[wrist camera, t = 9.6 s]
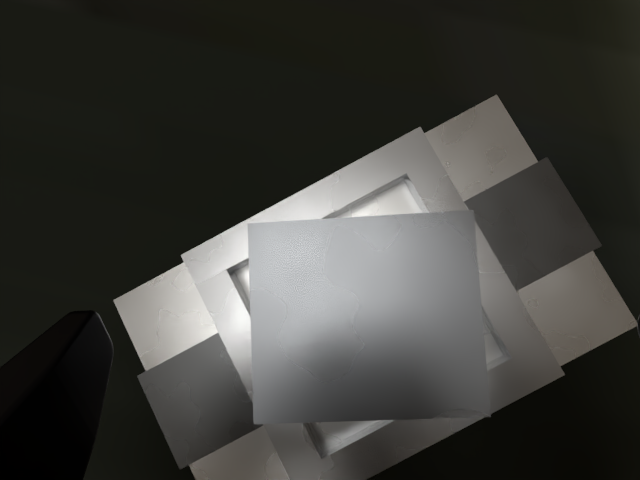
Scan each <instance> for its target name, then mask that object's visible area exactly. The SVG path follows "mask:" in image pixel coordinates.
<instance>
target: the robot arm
mask: <svg viewBox="0 0 640 480" xmlns="http://www.w3.org/2000/svg"><path fill="white" fill-rule="evenodd" d="M637 328H638V333H639V337H640V314H639V317H638V322H637ZM112 359H113V344H112V341H111V339H110V337H109V335H108V333H107V331H106V328H105V326H104V324H103V322H102V320H101V318H100V316H99V314H98V313H96V312H95V311H92V310H89V311H73V312H70V313H68V314H67V315H65V316H64V317H63V318H62V319H60V320H59V321H58V322H57V323H55V324H54V325H53V326H52V327H50V328H49V329H48V330H47V331H45V332H44V333H43V334H42V335H40V336H39V337H38V338H37V339H35V340H34V341H33V342H32V343H30V344H29V345H28V346H27V347H25V348H24V349H23V350H22V351H20V352H19V353H18V354H17V355H15V356H14V357H13V358H12V359H10V360H9V361H8V362H7V363H5V364H4V365H3V366H2V367H0V480H83V478H84V475H85V471H86V468H87V465H88V462H89V459H90V456H91V453H92V450H93V446H94V443H95V440H96V435H97V431H98V427H99V423H100V418H101V413H102V408H103V403H104V398H105V393H106V389H107V384H108V379H109V374H110V369H111V364H112Z"/></svg>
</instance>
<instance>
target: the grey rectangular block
mask: <svg viewBox="0 0 640 480" xmlns="http://www.w3.org/2000/svg"><path fill="white" fill-rule="evenodd" d="M248 253H249V287H250V320H251V354H252V387H253V420H254V424H280V423H312V422H344V421H376V420H408V419H440V418H472V417H491V412H490V400H489V388H488V376H487V364H486V352H485V341H484V329H483V317H482V305H481V293H480V281H479V269H478V257H477V245H476V233H475V221H474V210H462V211H445V212H429V213H412V214H395V215H378V216H362V217H345V218H328V219H311V220H295V221H278V222H261V223H248Z"/></svg>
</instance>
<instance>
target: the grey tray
mask: <svg viewBox="0 0 640 480" xmlns="http://www.w3.org/2000/svg"><path fill="white" fill-rule="evenodd" d="M462 210H474V221H475V233H476V245H477V257H478V269H479V281H480V293H481V305H482V317H483V329H484V341H485V352H486V364H487V376H488V388H489V400H490V412H491V414H492V413H493V412H495V411H497V410H499V409H501V408H503V407H505V406H507V405H509V404H511V403H512V402H514V401H516V400H518V399H520V398H522V397H524V396H526V395H528V394H530V393H531V392H533V391H535V390H537V389H539V388H541V387H543V386H545V385H547V384H549V383H550V382H552V381H554V380H556V379H558V378H560V377H562V376H564V375H565V374H564V372H563V370H562V369H561V367H560V366H562V365H564V364H566V363H567V362H569V361H571V360H573V359H575V358H577V357H579V356H581V355H583V354H584V353H586V352H588V351H590V350H592V349H594V348H596V347H598V346H600V345H602V344H603V343H605V342H607V341H609V340H611V339H613V338H615V337H617V336H619V335H621V334H622V333H624V332H626V331H628V330H630V329H632V328H634V327H636V326H637V322H636V320H635V319H634V317H633V315H632V314H631V312H630V311H629V309H628V307H627V306H626V304H625V302H624V301H623V299H622V298H621V296H620V294H619V293H618V291H617V289H616V288H615V286H614V285H613V283H612V281H611V280H610V278H609V276H608V275H607V273H606V271H605V270H604V268H603V267H602V265H601V263H600V262H599V260H598V258H597V257H596V255H595V254H594V252H593V250H595V249H597V248H599V247H601V246H602V245H601V243H600V242H599V240H598V238H597V237H596V235H595V234H594V232H593V230H592V229H591V227H590V226H589V224H588V222H587V221H586V219H585V217H584V216H583V214H582V213H581V211H580V209H579V208H578V206H577V205H576V203H575V201H574V200H573V198H572V196H571V195H570V193H569V192H568V190H567V188H566V187H565V185H564V184H563V182H562V180H561V179H560V177H559V175H558V174H557V172H556V171H555V169H554V167H553V166H552V164H551V163H550V161H549V159H548V158H547V157H546V158H544V159H543V160H541V161H539V162H538V161H537V159H536V158H535V156H534V154H533V153H532V151H531V150H530V148H529V146H528V145H527V143H526V141H525V140H524V138H523V137H522V135H521V133H520V132H519V130H518V128H517V127H516V125H515V124H514V122H513V120H512V119H511V117H510V115H509V114H508V112H507V111H506V109H505V107H504V106H503V104H502V102H501V101H500V99H499V98H498V96H497V95H495V96H493V97H491V98H490V99H488V100H486V101H484V102H482V103H480V104H478V105H476V106H475V107H473V108H471V109H469V110H467V111H465V112H463V113H462V114H460V115H458V116H456V117H454V118H452V119H450V120H449V121H447V122H445V123H443V124H441V125H439V126H437V127H435V128H434V129H432V130H430V131H428V132H426V133H424V132H423V131H422V129H421V127H419V128H417V129H415V130H413V131H411V132H409V133H407V134H406V135H404V136H402V137H400V138H398V139H396V140H394V141H393V142H391V143H389V144H387V145H385V146H383V147H381V148H380V149H378V150H376V151H374V152H372V153H370V154H368V155H366V156H365V157H363V158H361V159H359V160H357V161H355V162H353V163H352V164H350V165H348V166H346V167H344V168H342V169H340V170H339V171H337V172H335V173H333V174H331V175H329V176H327V177H326V178H324V179H322V180H320V181H318V182H316V183H314V184H312V185H311V186H309V187H307V188H305V189H303V190H301V191H299V192H298V193H296V194H294V195H292V196H290V197H288V198H286V199H285V200H283V201H281V202H279V203H277V204H275V205H273V206H272V207H270V208H268V209H266V210H264V211H262V212H260V213H258V214H257V215H255V216H253V217H251V218H249V219H247V220H245V221H244V222H242V223H240V224H238V225H236V226H234V227H232V228H231V229H229V230H227V231H225V232H223V233H221V234H219V235H217V236H216V237H214V238H212V239H210V240H208V241H206V242H204V243H203V244H201V245H199V246H197V247H195V248H193V249H191V250H190V251H188V252H186V253H184V254H182V255H181V257H182V259H183V261H184V263H182V264H180V265H178V266H176V267H175V268H173V269H171V270H169V271H167V272H165V273H163V274H162V275H160V276H158V277H156V278H154V279H152V280H150V281H149V282H147V283H145V284H143V285H141V286H139V287H137V288H135V289H134V290H132V291H130V292H128V293H126V294H124V295H122V296H121V297H119V298H117V299H115V300H113V301H114V303H115V305H116V307H117V309H118V312H119V314H120V316H121V318H122V320H123V323H124V325H125V327H126V329H127V331H128V333H129V336H130V338H131V340H132V342H133V344H134V346H135V349H136V351H137V353H138V355H139V357H140V360H141V362H142V364H143V366H144V368H145V370H146V372H144V373H142V374H140V375H138V376H137V377H138V379H139V381H140V384H141V386H142V388H143V390H144V392H145V395H146V397H147V399H148V401H149V403H150V405H151V408H152V410H153V412H154V414H155V416H156V419H157V421H158V423H159V425H160V427H161V430H162V432H163V434H164V436H165V438H166V441H167V443H168V445H169V447H170V449H171V452H172V454H173V456H174V458H175V460H176V462H177V465H178V467H179V469H182V468H184V467H186V466H188V465H189V466H190V468H191V471H192V473H193V475H194V477H195V479H196V480H366V479H368V478H370V477H372V476H374V475H376V474H378V473H380V472H382V471H383V470H385V469H387V468H389V467H391V466H393V465H395V464H397V463H399V462H401V461H402V460H404V459H406V458H408V457H410V456H412V455H414V454H416V453H418V452H419V451H421V450H423V449H425V448H427V447H429V446H431V445H433V444H435V443H437V442H438V441H440V440H442V439H444V438H446V437H448V436H450V435H452V434H454V433H456V432H457V431H459V430H461V429H463V428H465V427H467V426H469V425H471V424H473V423H475V422H476V421H478V420H480V419H482V418H484V417H472V418H440V419H408V420H376V421H344V422H312V423H280V424H254V420H253V387H252V354H251V320H250V287H249V253H248V223H261V222H278V221H295V220H311V219H328V218H345V217H362V216H378V215H395V214H412V213H429V212H445V211H462Z"/></svg>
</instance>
